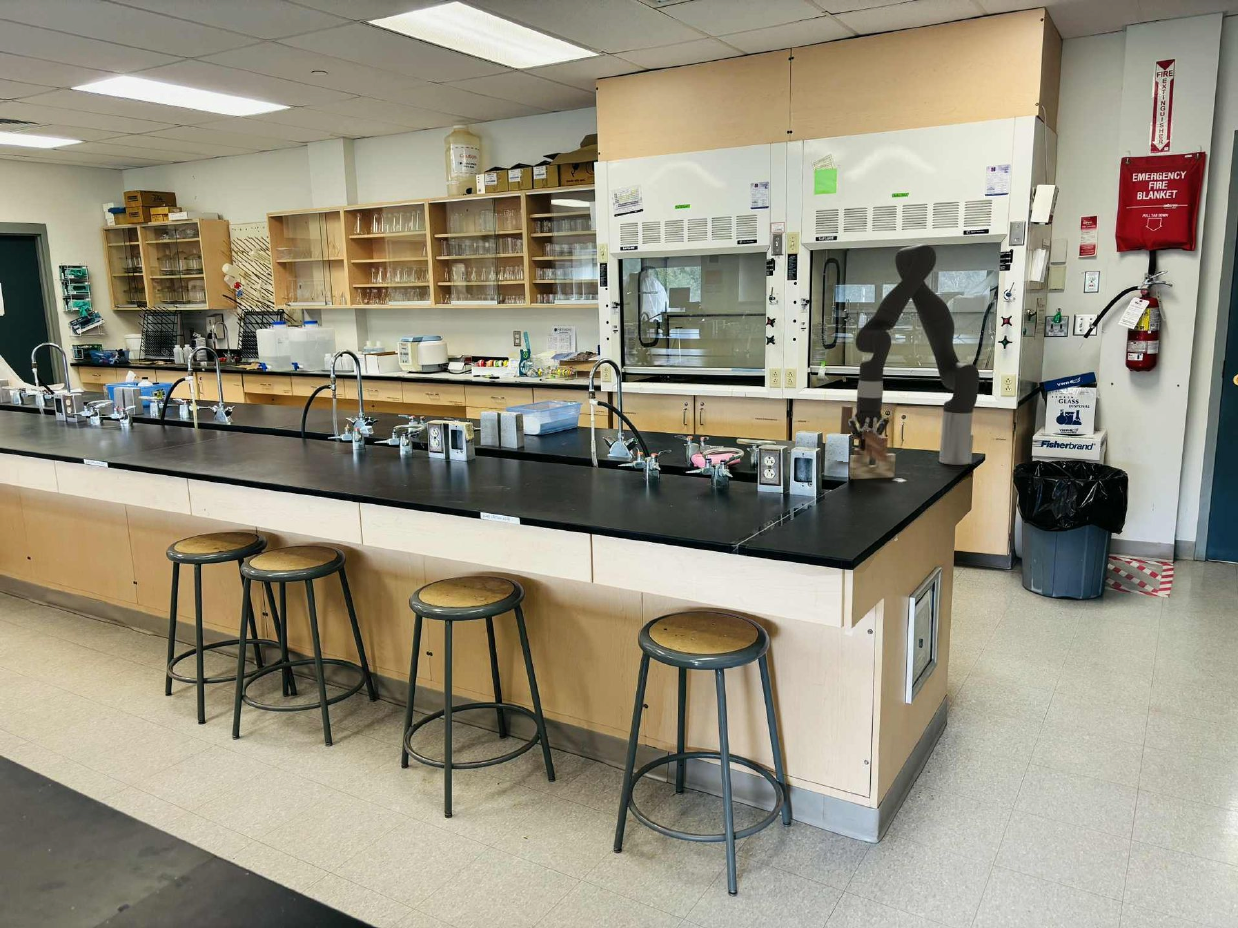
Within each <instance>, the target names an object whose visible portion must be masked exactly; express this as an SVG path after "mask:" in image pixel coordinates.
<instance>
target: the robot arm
mask: <svg viewBox="0 0 1238 928" xmlns="http://www.w3.org/2000/svg"><path fill="white" fill-rule="evenodd" d="M894 262H895V267H896V271H897V273H898V275H899V277H900V278H901V279H900V282H899V283H898V284H897V285H896V286H894V287H893V288H892V289H891V290H890V291H889V292H888V293H887V294H886V295H885V296H884V298H883V299H882V300H881V302H880V303H879V306H878V308H877V309H876V312H875V313H874V314H873V316H872V317H871V318H869V320H868V321H867V322H866V323H865V324H864V325H863V326H862V327H861V328H860V330H859V331H858V333H857V334H856V337H855V347H856V349H857V350H858V351H859V352H860V353H867V354H873V355H872V356H871V359H868V360H864V361H862V362H861V363H860V365H859V372H858V373H859V375H858V376H859V377H858V384H857V392H856V393H857V394H856V413H855V414H854V417H852V419H848V420H847V423H848V425H849V427H850V429H851V435H853V436H855V437H858V438H859V440H858V443H857V444H858V446H857V447H858V448H857V449H860V450H861V451H865V436H866V432H867V429H868V430H869V431H871V432H873V433H876V434H879V435H881V436H883V433H884V432H885V430H886V428H887V426H888V424H889V423H890V419H889V418H885V417H883V415H882V408H883V407H882V406H883V394H884V385H883V384H884V383H883V382H884V379H883V378H884V367H885V364H886V361H887V358H888V355H889V353H890V350H891V346H892V337H891V335H890V333H889V332H888V331H890V330H892V329H894V328H895V326H896V324H897V322H898V321H899V319H900V317H901V315H902V314H903V312H904V309H905V308H906V306H907V305H908V303H909V302H910V300H911V301H912V303H913V305H914V307H915V310H916V313H917V315H918V318H919V320H920V321H919V322H920V324H921V326H922V328H923V331H924V333H925V335H926V337H927V340H928V343H929V346H930V348H931V350H932V354H933V357H934V360H935V363H936V366H937V371H938V375H939V378H940V382H941V383H942V385H943V386H944V387H945V388H947V389H949V390H951V391H953V393H952V397H951V399H949V400H946V401H945V402H944V403H943V409H942V420H941V421H942V422H941V433H940V446H939V456H938V457H939V460H938V461H939V462H940V463H941V464H946V465H955V466H957V465H959V466H961V465H962V466H963V465H968V464H972V458H973V457H972V456H973V444H974V434H972V426H973V416H974V415H973V414H974V413H973V412H974V408H975V406H976V404H977V399H978V393H979V386H980V372H979V369H978V368H977V366H976V365H974V364H971V363H965V362H961V361H960V359H959V358H958V356H957V353H956V351H955V349H954V336H955V322H954V319H953V315H952V314H951V311H950V309H949V306H948V304H947V303H946V302H945V301H944V300H943V298H941V297H940V296H939V295H938V294H936V293H935V292H934V291H933V290H932V289H931V288H930V287H929V286H928V284H927V283H926V281H925V280H926V279H927V278H928V277H929V276H930V274H931V272H932V271H933V270H934V268H935V265H936V263H937V253H936V251H935V248H934V247H933V246H931V245H930V244H917V245H912V246H907V247H903V248H901V249H899V250H898V251H897V252H896V255H895V259H894ZM857 424H858V427H857ZM877 425H878V426H877ZM858 430H859V431H858Z"/></svg>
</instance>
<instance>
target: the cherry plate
mask: <svg viewBox="0 0 1238 928" xmlns="http://www.w3.org/2000/svg"><path fill="white" fill-rule="evenodd" d="M888 441H889V438H888V437H886V436H884V435H879V434H876V433H873V432H871V431H868V430H867V432H866V436H865V451H861V450H860V449H859V448H858V449H859V452H860V453H862V454H864V455H871V459H873V460H875V461H876V460H878V461H886V457H887V454H888V444H889V442H888Z"/></svg>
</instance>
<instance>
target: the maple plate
mask: <svg viewBox="0 0 1238 928" xmlns="http://www.w3.org/2000/svg"><path fill="white" fill-rule="evenodd" d="M869 458H870V456H868V455H850V459H849V471H848V472H849V473H848V477H849V476H850V478H849V479H851V480H859V479H862V480H863V479H880V478H881V479H883V478H884V479H885V478H895V467H896V454H895V453H887V457H886V461H878V460H876V459H875V464H874V465H870V461H869Z"/></svg>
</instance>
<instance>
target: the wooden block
mask: <svg viewBox="0 0 1238 928" xmlns="http://www.w3.org/2000/svg"><path fill="white" fill-rule="evenodd" d="M853 410H854V407H853V406H852V405H847V404H845V405H842V407H841V416H840V417H841V418H840V434H851V435H852V432H851V429H850V427H849V425H848V423H847V420H848V419H852V418H853V412H854V411H853ZM867 430H868V429H867ZM858 431H859V430H858ZM868 431H869V430H868ZM853 440H857V441H859V438H858V437H855V436H854V439H853ZM854 448H855V449H854V455H864V454H862V453H860V452H859V448H857V447H854ZM868 456H870V458H869V462H870V461H872V455H868Z"/></svg>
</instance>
